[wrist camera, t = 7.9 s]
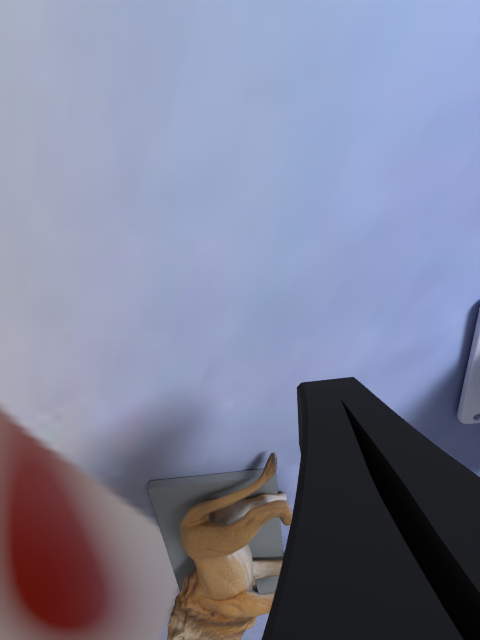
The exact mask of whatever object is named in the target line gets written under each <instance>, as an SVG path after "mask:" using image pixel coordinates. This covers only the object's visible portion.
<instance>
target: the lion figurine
mask: <svg viewBox="0 0 480 640" xmlns="http://www.w3.org/2000/svg"><path fill="white" fill-rule="evenodd" d="M276 469H277V457H276V454H275V453H271V454H270V456H269V459H268V461H267V463H266V465H265V468H264V470H263V473H262V474H261V476H260V477H259V478H258V479H257V480H256V481H255V482H254V483H252V484H251V485H249V486H247V487H245V488H243V489H241V490H238V491H236V492H233V493H231V494H229V495H226V496H223V497H220V498H218V499H211V500H207V501H204V502H200V503H198V504H196V505H194V506H193V507H192V508H190V509H189V510H188V512H187V513H186V515H185V517H184V518H183V520H182V522H181V525H180V533H181V541H182V545H183V548H184V550H185V552H186V554H187V555H188V556H189V557H191V558H192V559H193V560H194V562H195V565H196V566H195V567H194V570H192V571H191V572H190V573H188V574H187V576H186V577H185V579H184V581H183V584H182V589H181V592H180V594H179V595H178V596H177V597H176V600H175V606H174V608H173V611H172V613H171V618H170V621H169V623H168V638H167V640H241V637H242V635H243V633H244V632H245V630H247V629H249V628H251V627H253V625H254V623H255V620H256V617H257V616H258V615H263V614H266V613H269V612H270V609H271V606H272V602H273V598H274V594H275V592H270V593H264V594H260V593H258V589H257V585H256V580H258V579H261V578H266V577H270V576H279V574H280V570H281V566H282V562H283V560H252V553H251V549H250V547H249V545H248V543H249V542H250V541H251V540H252V539H253V537H254V536H255V535H256V534H257V533H258V531H259V530H260V529H261V527H262V526H263V525H264V524H265V523H266V522H268V521H269V520H270V519H272V518H280V519H281V521H282V523H283V524H284V525H291V520H292V512H291V508H290V504H289V502H288V500H287V497H286V493H279V494H261V495H259V496H257V497H255V498H249V499H244V498H246V497H248V496H249V495H251V494H253V493H255V492H256V491H258V490H259V489H260V488H262V487H263V486H264V485H265V484H266V483H267V482H268V481H269V480H270V479H271V478H272V477H273V476H274V474H275V472H276ZM244 515H245V516H244ZM242 516H244V517H243V518H241V519H240V520H238V521H235V522H233V523H231V524H228V523H229V522H231V521H234V520H236V519H238V518H240V517H242Z"/></svg>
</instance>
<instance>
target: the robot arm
mask: <svg viewBox="0 0 480 640" xmlns="http://www.w3.org/2000/svg"><path fill="white" fill-rule="evenodd" d="M297 401H298V425H299V445H300V451H301V461H300V469H299V477H298V485H297V492H296V498H295V504H294V510H293V515H292V520H291V525H290V530H289V535H288V540H287V545H286V549H285V553H284V557H283V562H282V566H281V570H280V574H279V578H278V583H277V587H276V590H275V594H274V598H273V602H272V606H271V609H270V613H269V617H268V620H267V624H266V627H265V630H264V634H263V637H262V640H480V477H479V476H477V475H476V474H474V473H473V472H472V471H470V470H469V469H467V468H466V467H465V466H463V465H462V464H460V463H459V462H458V461H456V460H455V459H454V458H452V457H451V456H449V455H448V454H447V453H445V452H444V451H443V450H441V449H440V448H439V447H437V446H436V445H435V444H434V443H432V442H431V441H430V440H428V439H427V438H426V437H425V436H423V435H422V434H421V433H420V432H418V431H417V430H416V429H415V428H413V427H412V426H411V425H410V424H408V423H407V422H406V421H405V420H404V419H402V418H401V417H400V416H399V415H398V414H396V413H395V412H394V411H393V410H392V409H390V408H389V407H388V406H387V405H386V404H385V403H383V402H382V401H381V400H380V399H379V398H378V397H376V396H375V395H374V394H373V393H372V392H371V391H369V390H368V389H367V388H366V387H365V386H364V385H362V384H361V383H360V382H359V381H358V380H357V379H355V378H354V377H348V378H339V379H330V380H321V381H312V382H303V383H301V384H300V385H299V386H298V387H297ZM457 418H458V419H459V421H460V422H461V423H463V424H474V423H480V309H479V314H478V319H477V323H476V328H475V333H474V338H473V342H472V347H471V352H470V356H469V361H468V366H467V370H466V375H465V380H464V384H463V389H462V394H461V398H460V403H459V408H458V413H457Z"/></svg>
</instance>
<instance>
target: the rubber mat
mask: <svg viewBox="0 0 480 640" xmlns="http://www.w3.org/2000/svg"><path fill="white" fill-rule="evenodd" d="M263 470H264V469H257V470H248V471H239V472H229V473H220V474H211V475H201V476H192V477H183V478H173V479H164V480H154V481H149V484H148V489H147V490H148V493H149V496H150V499H151V502H152V505H153V508H154V512H155V515H156V518H157V521H158V524H159V527H160V530H161V533H162V536H163V540H164V543H165V546H166V549H167V552H168V555H169V558H170V561H171V565H172V567H173V571H174V574H175V577H176V580H177V583H178V586H179V590H180V592H181V589H182V584H183V581H184V579H185V577H186V576H187V574H188V573H190V572H191V571H192V570H194V567H195V566H196V565H195V562H194V560H193V559H192V558H191V557H189V556H188V555H187V554H186V552H185V550H184V548H183V545H182V541H181V533H180V525H181V522H182V520H183V518H184V517H185V515H186V513H187V512H188V510H189V509H190V508H192V507H193V506H194V505H196V504H198V503H200V502H204V501H207V500H211V499H218V498H220V497H223V496H226V495H229V494H231V493H233V492H236V491H238V490H241V489H243V488H245V487H247V486H249V485H251V484H252V483H254V482H255V481H256V480H257V479H258V478H259V477H260V476H261V474H262V473H263ZM261 494H278V488H277V476H276V472H275V474H274V476H273V477H272V478H271V479H270V480H269V481H268V482H267V483H266V484H265V485H264V486H263V487H262V488H260V489H259V490H258V491H256V492H255V493H253V494H251V495H249V496H248V497H246V498H244V499H249V498H255V497H257V496H259V495H261ZM244 516H245V515H244ZM244 516H242V517H240V518H238V519H236V520H234V521H231V522H229V523H228V524H231V523H233V522H235V521H238V520H240V519H241V518H243V517H244ZM248 545H249V547H250V549H251V553H252V560H283V548H282V536H281V524H280V518H272V519H270V520H269V521H268V522H266V523H265V524H264V525H263V526H262V527H261V529H260V530H259V531H258V533H257V534H256V535H255V536H254V537H253V539H252V540H251V541H250V542H249V543H248ZM278 578H279V576H270V577H266V578H261V579H258V580H256V585H257V589H258V593H260V594H264V593H270V592H275V590H276V587H277V583H278Z"/></svg>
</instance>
